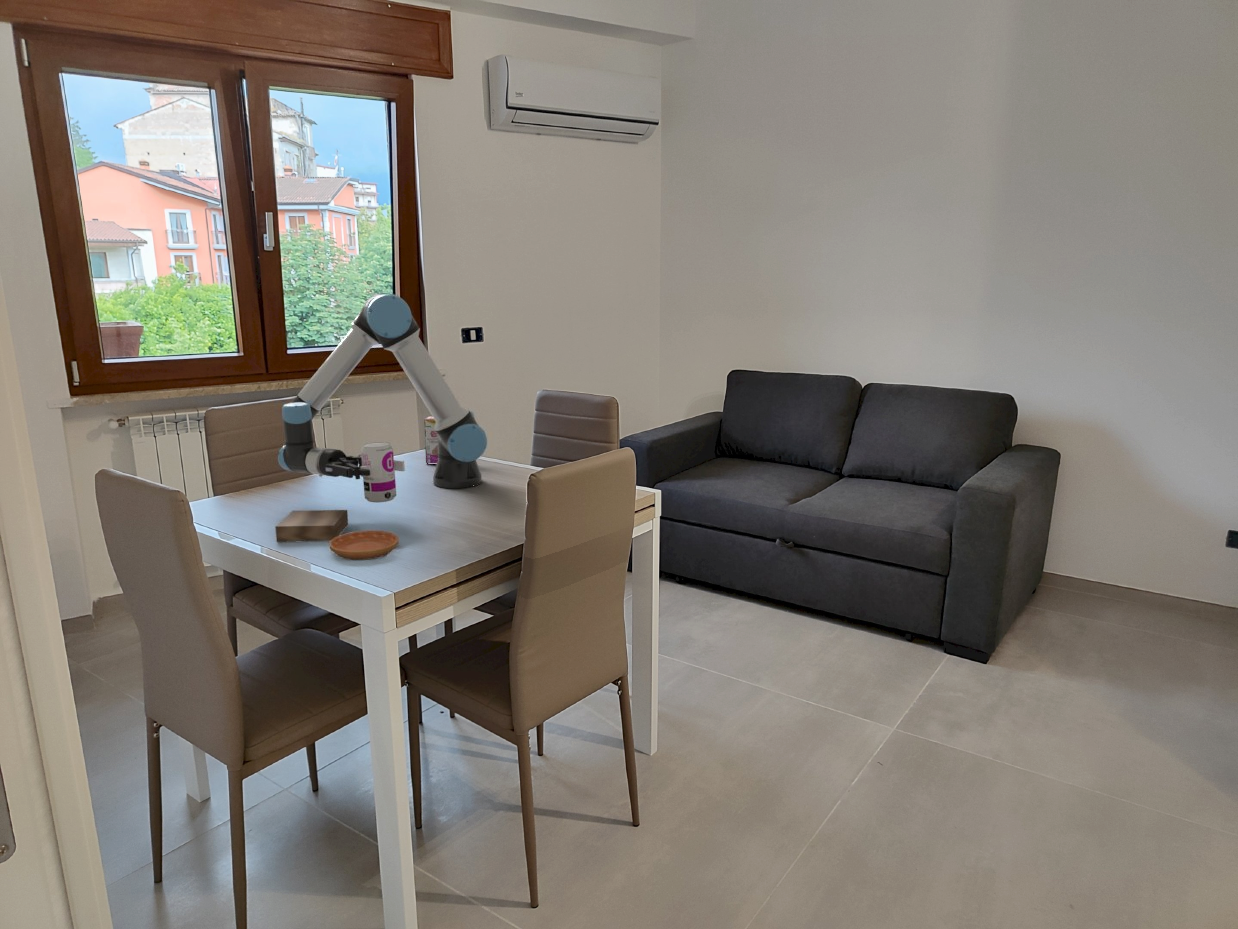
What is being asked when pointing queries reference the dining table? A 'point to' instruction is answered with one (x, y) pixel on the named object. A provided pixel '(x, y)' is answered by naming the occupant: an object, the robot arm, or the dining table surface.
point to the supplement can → (382, 458)
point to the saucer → (364, 544)
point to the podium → (312, 525)
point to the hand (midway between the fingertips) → (392, 469)
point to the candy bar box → (431, 440)
